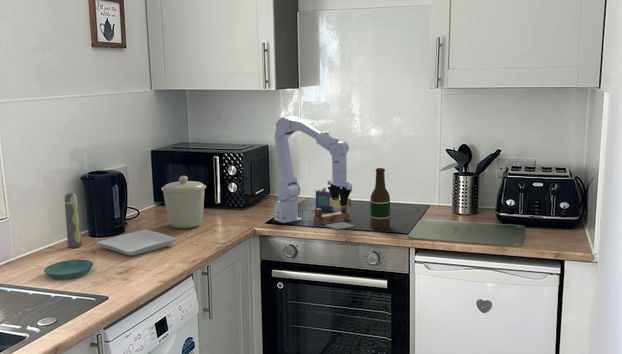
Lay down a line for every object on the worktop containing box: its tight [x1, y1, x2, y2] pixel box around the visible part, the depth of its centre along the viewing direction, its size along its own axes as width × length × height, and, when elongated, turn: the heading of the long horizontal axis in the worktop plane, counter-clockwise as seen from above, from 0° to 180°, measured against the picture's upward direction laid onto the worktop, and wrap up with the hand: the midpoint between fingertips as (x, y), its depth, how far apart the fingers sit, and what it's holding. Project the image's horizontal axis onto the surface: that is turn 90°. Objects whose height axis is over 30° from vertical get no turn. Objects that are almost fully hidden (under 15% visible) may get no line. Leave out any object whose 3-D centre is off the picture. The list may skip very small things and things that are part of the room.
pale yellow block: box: [329, 196, 352, 209], centre depth 245 cm, size 7×5×4 cm
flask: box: [315, 187, 335, 212], centre depth 275 cm, size 9×3×11 cm, turn 61°
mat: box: [324, 221, 356, 231], centre depth 247 cm, size 9×9×1 cm
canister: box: [161, 175, 207, 230], centre depth 251 cm, size 18×18×21 cm
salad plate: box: [97, 228, 178, 257], centre depth 222 cm, size 21×21×3 cm
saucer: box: [43, 259, 94, 281], centre depth 194 cm, size 15×15×3 cm
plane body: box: [312, 206, 351, 226], centre depth 255 cm, size 16×4×6 cm, turn 122°
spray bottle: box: [64, 193, 83, 249], centre depth 224 cm, size 5×5×20 cm
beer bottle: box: [369, 167, 391, 231], centre depth 242 cm, size 8×8×24 cm
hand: (339, 204), depth 245 cm, fingers closed on pale yellow block, 5 cm apart
